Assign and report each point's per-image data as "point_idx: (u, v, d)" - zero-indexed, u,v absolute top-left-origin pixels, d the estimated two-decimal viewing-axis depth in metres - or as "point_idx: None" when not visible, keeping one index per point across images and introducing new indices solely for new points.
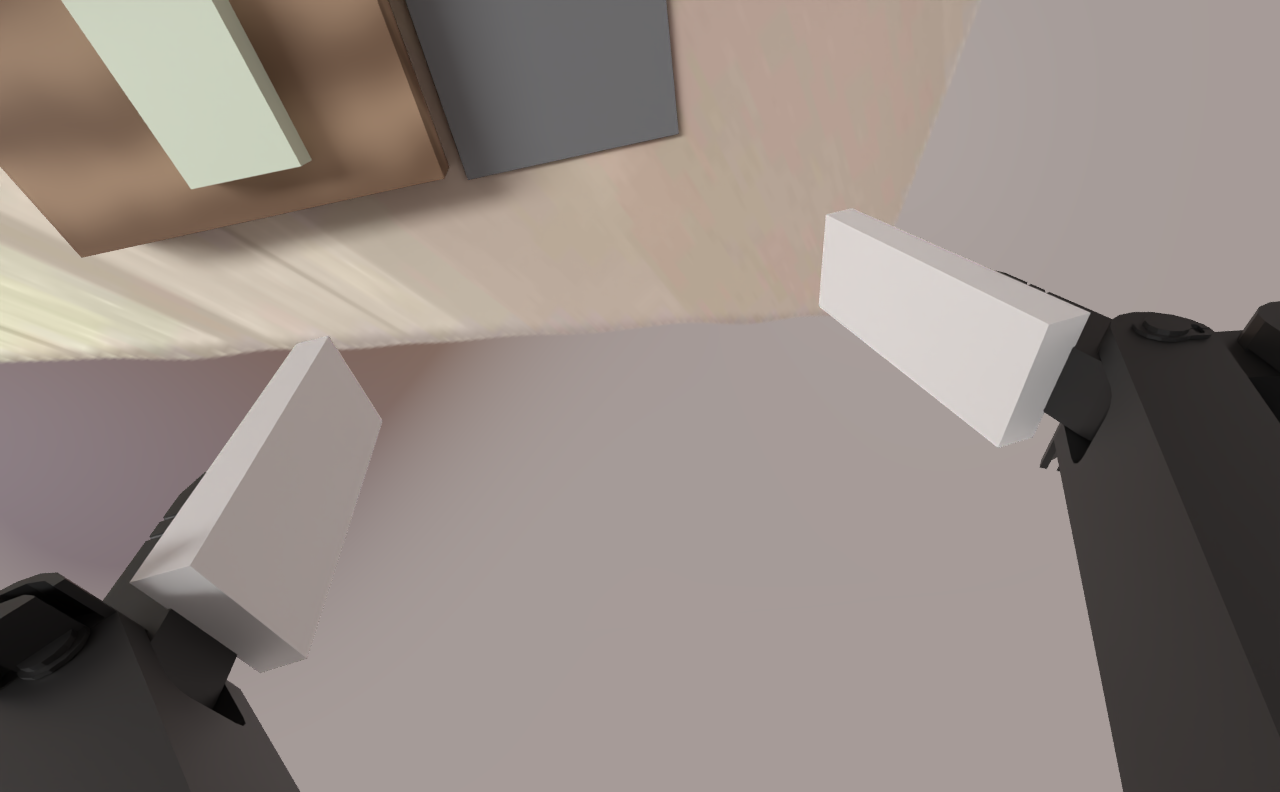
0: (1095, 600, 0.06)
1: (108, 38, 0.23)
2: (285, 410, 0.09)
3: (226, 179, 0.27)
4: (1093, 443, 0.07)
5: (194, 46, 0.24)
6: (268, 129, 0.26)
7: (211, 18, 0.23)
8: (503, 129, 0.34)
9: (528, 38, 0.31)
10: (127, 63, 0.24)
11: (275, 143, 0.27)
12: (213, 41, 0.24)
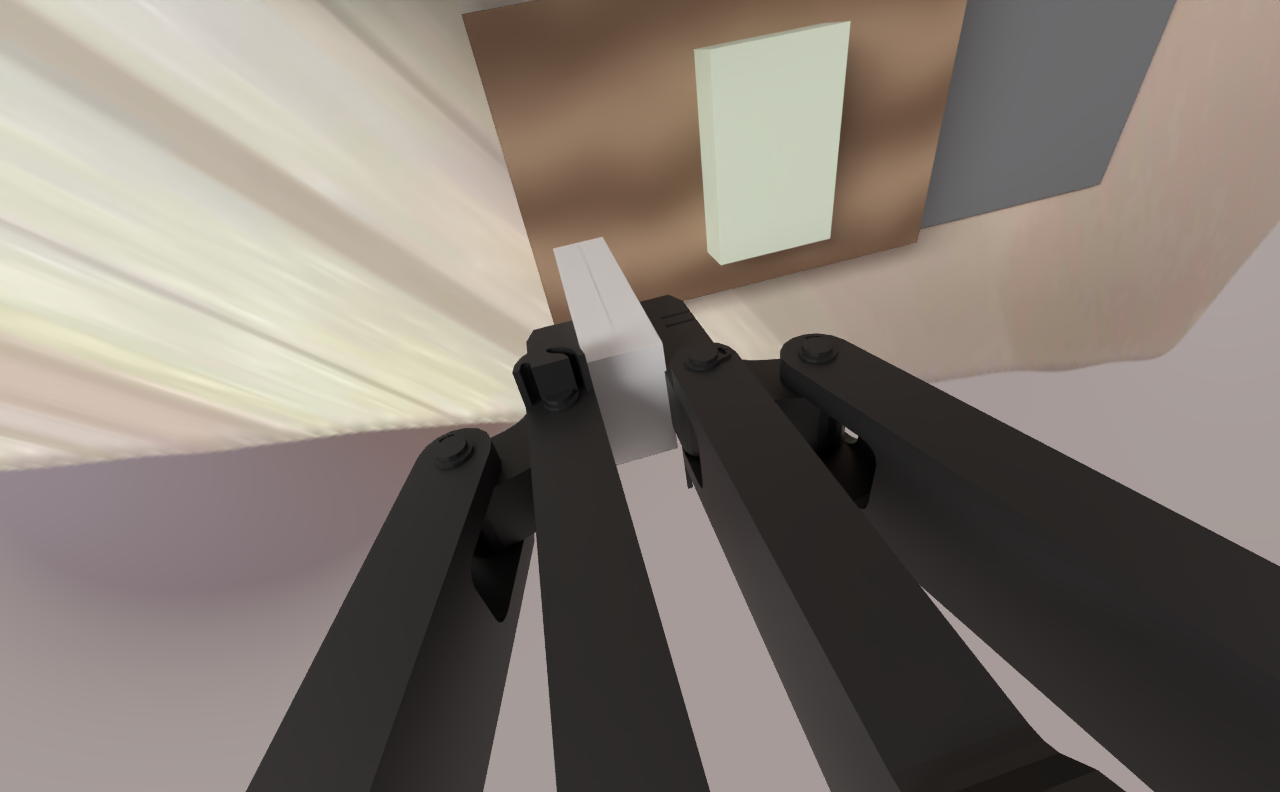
0: (757, 618, 0.07)
1: (731, 111, 0.20)
2: (594, 282, 0.12)
3: (757, 254, 0.25)
4: (702, 471, 0.08)
5: (804, 117, 0.21)
6: (822, 201, 0.24)
7: (835, 87, 0.21)
8: (946, 183, 0.31)
9: (1014, 89, 0.28)
10: (734, 136, 0.21)
11: (820, 215, 0.24)
12: (824, 111, 0.21)
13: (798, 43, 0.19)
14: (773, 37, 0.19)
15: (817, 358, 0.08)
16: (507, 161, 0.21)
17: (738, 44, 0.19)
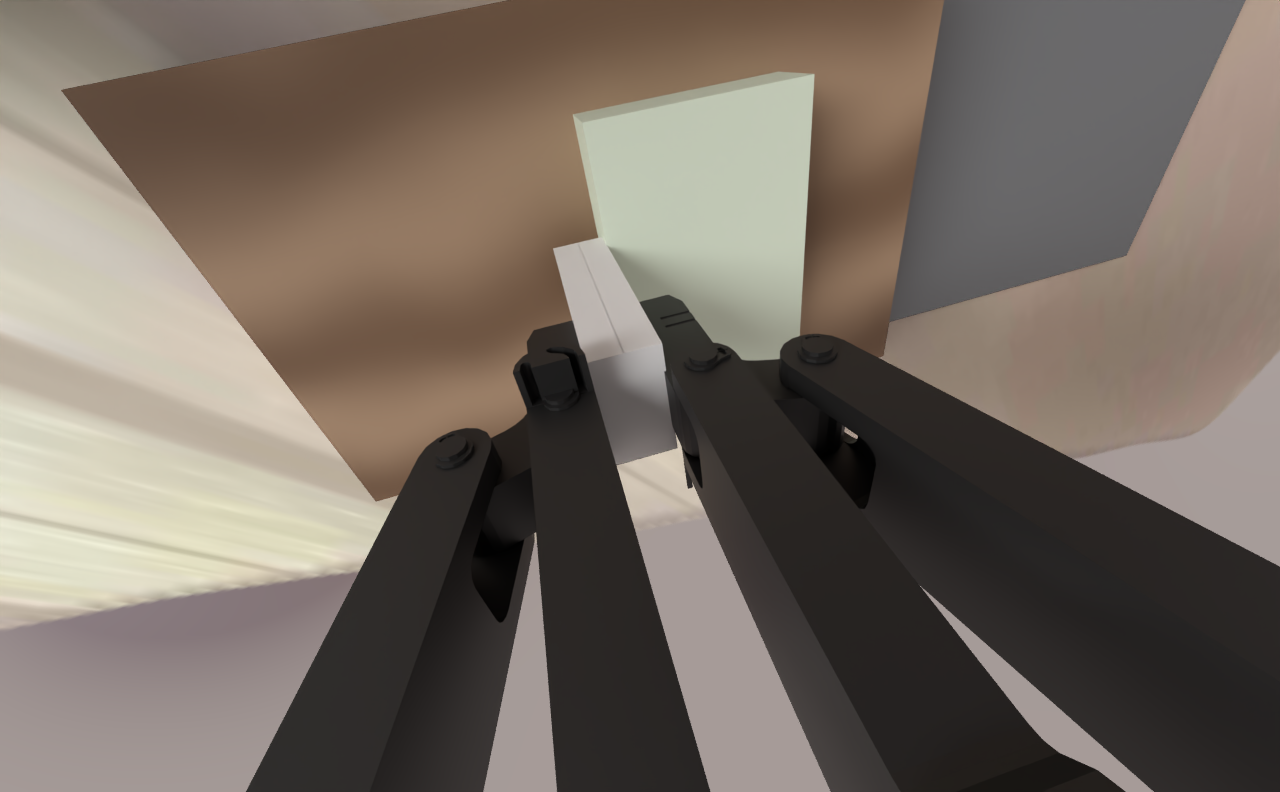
0: (757, 618, 0.07)
1: (631, 211, 0.13)
2: (594, 282, 0.12)
3: None
4: (702, 471, 0.08)
5: (748, 215, 0.14)
6: (783, 323, 0.16)
7: (794, 171, 0.13)
8: (925, 266, 0.23)
9: (1012, 147, 0.21)
10: (640, 246, 0.14)
11: (782, 341, 0.17)
12: (779, 205, 0.14)
13: (730, 109, 0.12)
14: (688, 101, 0.12)
15: (816, 358, 0.08)
16: (225, 300, 0.14)
17: (630, 113, 0.12)
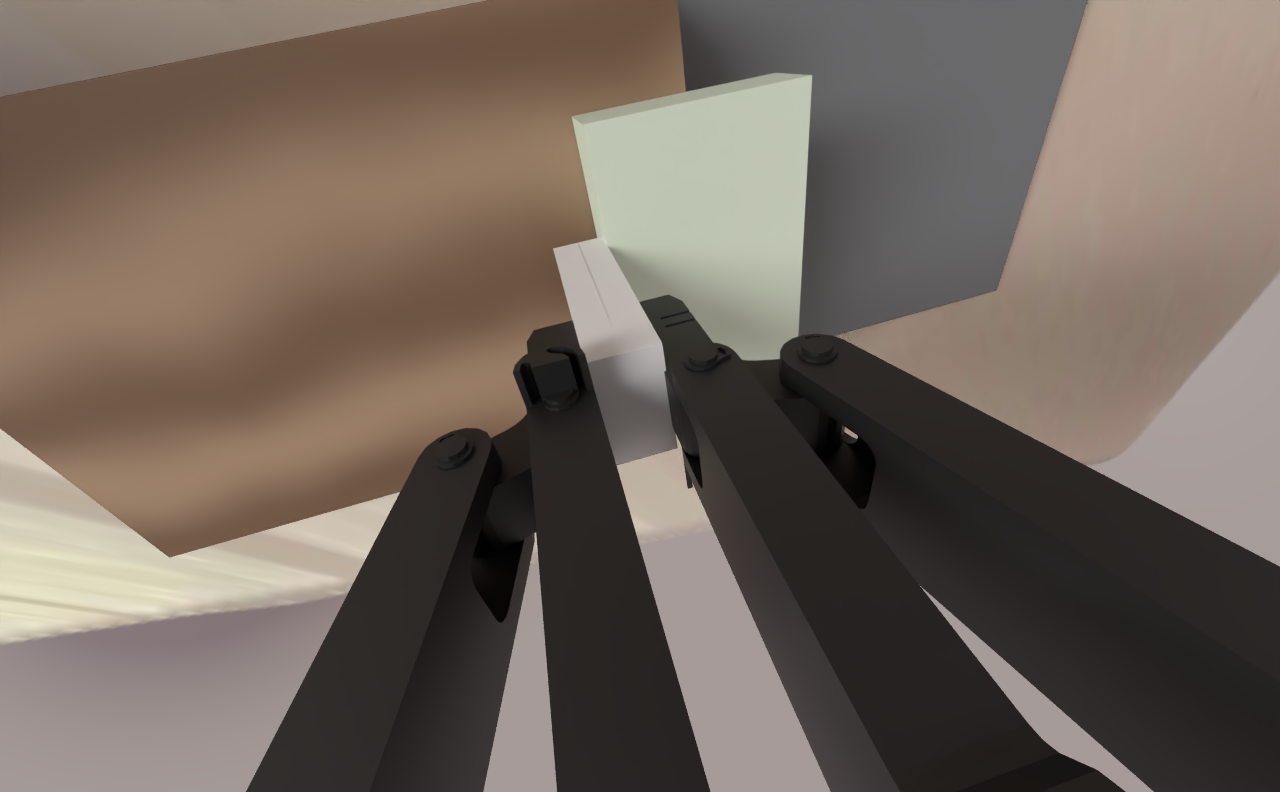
0: (757, 618, 0.07)
1: (631, 212, 0.13)
2: (594, 282, 0.12)
3: None
4: (702, 471, 0.08)
5: (747, 215, 0.14)
6: (782, 322, 0.16)
7: (793, 171, 0.13)
8: None
9: (846, 186, 0.20)
10: (640, 247, 0.14)
11: (781, 340, 0.17)
12: (778, 205, 0.14)
13: (729, 110, 0.12)
14: (688, 102, 0.12)
15: (817, 358, 0.08)
16: None
17: (630, 115, 0.12)
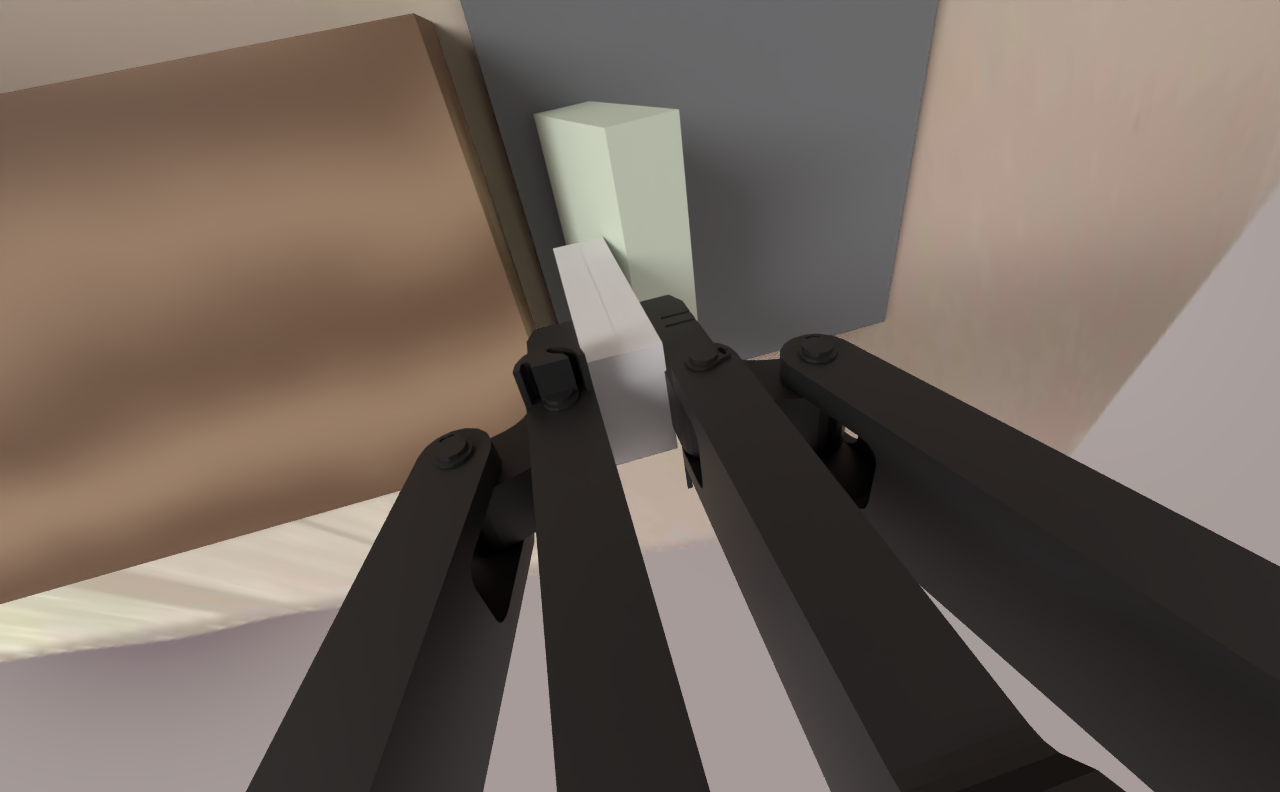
0: (757, 618, 0.07)
1: None
2: (594, 282, 0.12)
3: None
4: (702, 471, 0.08)
5: None
6: None
7: None
8: None
9: (699, 222, 0.19)
10: None
11: None
12: None
13: None
14: (630, 106, 0.14)
15: (816, 358, 0.08)
16: None
17: (655, 108, 0.13)
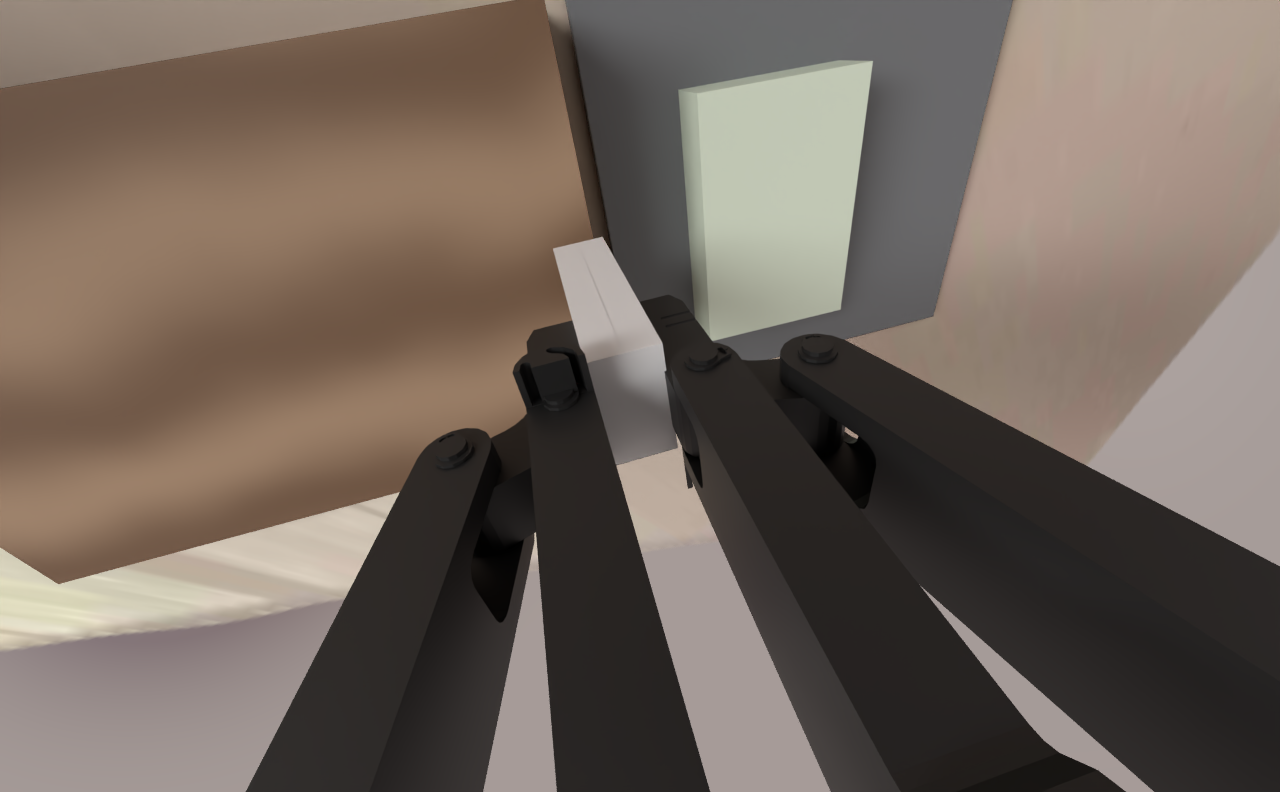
0: (757, 618, 0.07)
1: None
2: (594, 282, 0.12)
3: None
4: (702, 471, 0.08)
5: None
6: None
7: None
8: None
9: None
10: None
11: None
12: None
13: None
14: (768, 74, 0.17)
15: (816, 358, 0.08)
16: None
17: (807, 66, 0.17)
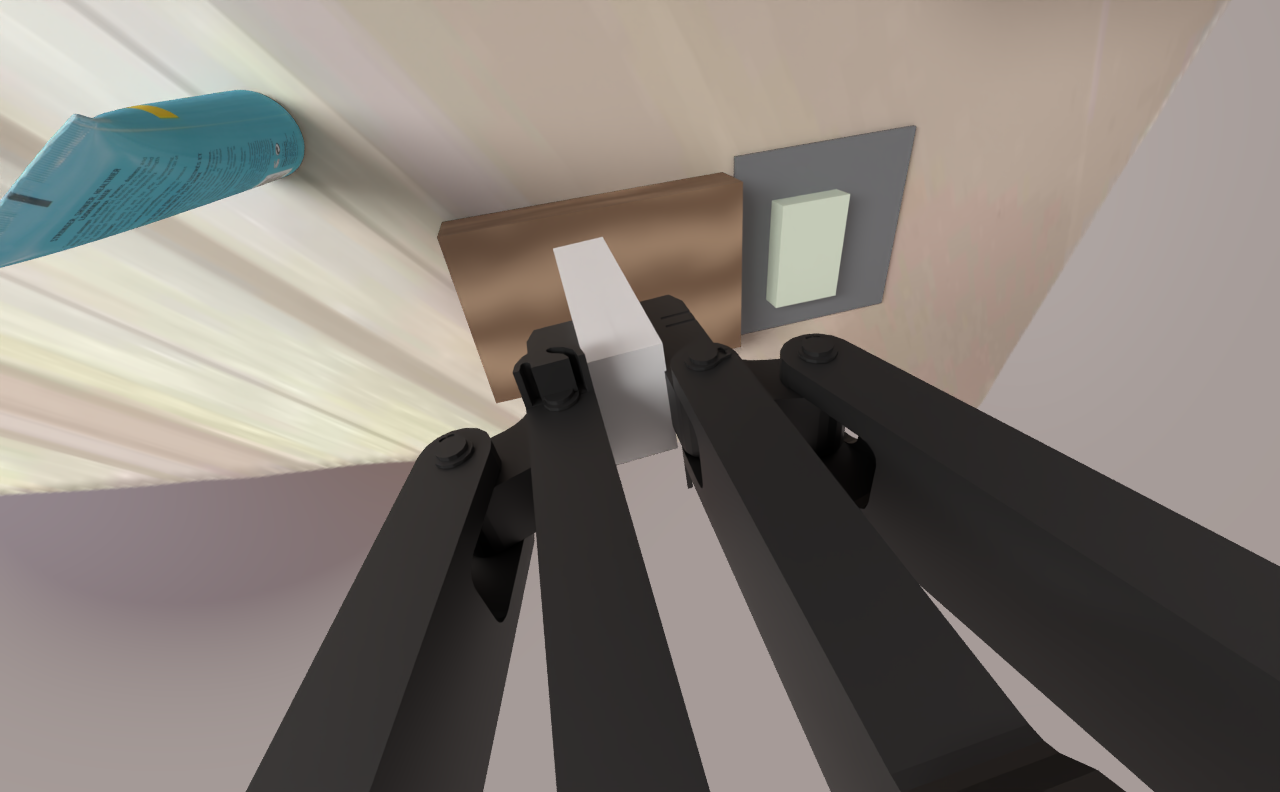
0: (757, 618, 0.07)
1: None
2: (594, 282, 0.12)
3: None
4: (702, 471, 0.08)
5: None
6: None
7: None
8: (768, 304, 0.46)
9: None
10: None
11: None
12: None
13: None
14: (808, 194, 0.41)
15: (816, 358, 0.08)
16: (463, 307, 0.35)
17: (823, 191, 0.41)
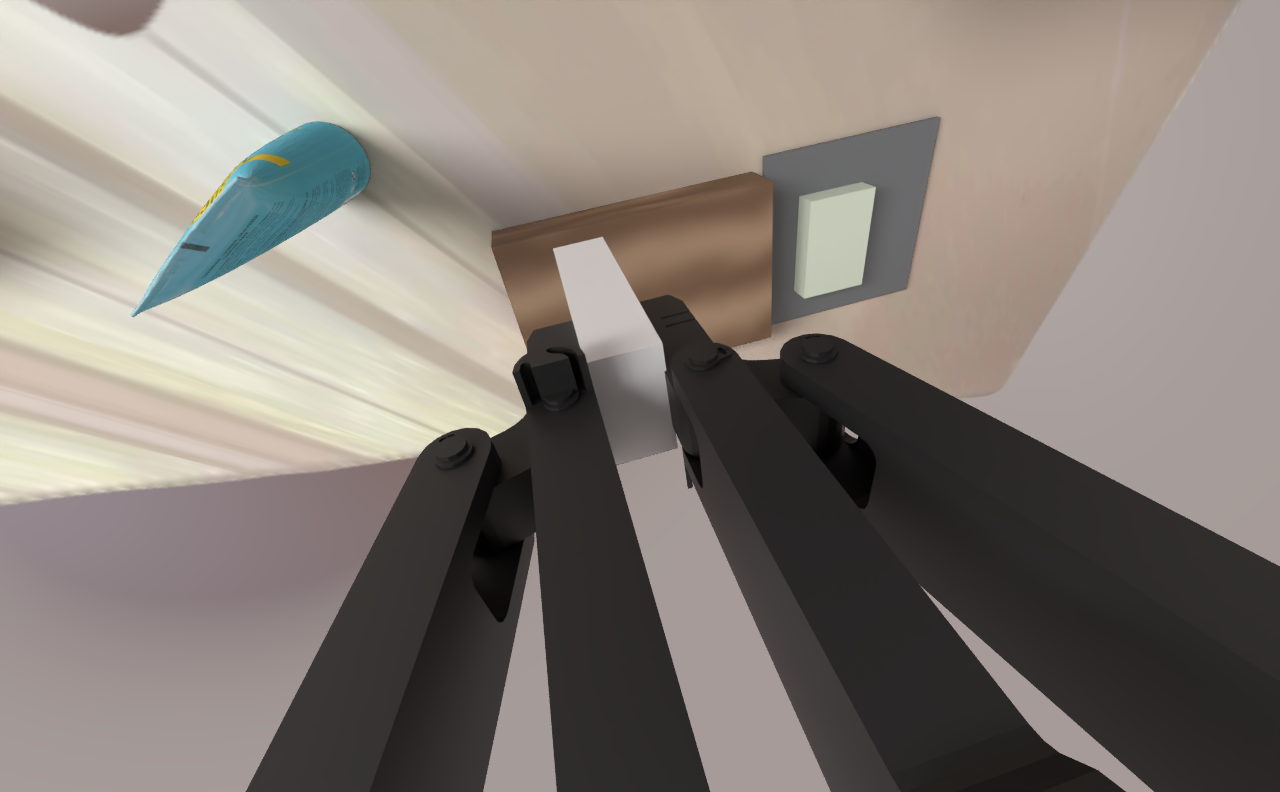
0: (757, 618, 0.07)
1: None
2: (594, 282, 0.12)
3: None
4: (702, 471, 0.08)
5: None
6: None
7: None
8: (796, 295, 0.48)
9: None
10: None
11: None
12: None
13: None
14: (834, 188, 0.42)
15: (816, 358, 0.08)
16: (514, 310, 0.38)
17: (849, 185, 0.43)
